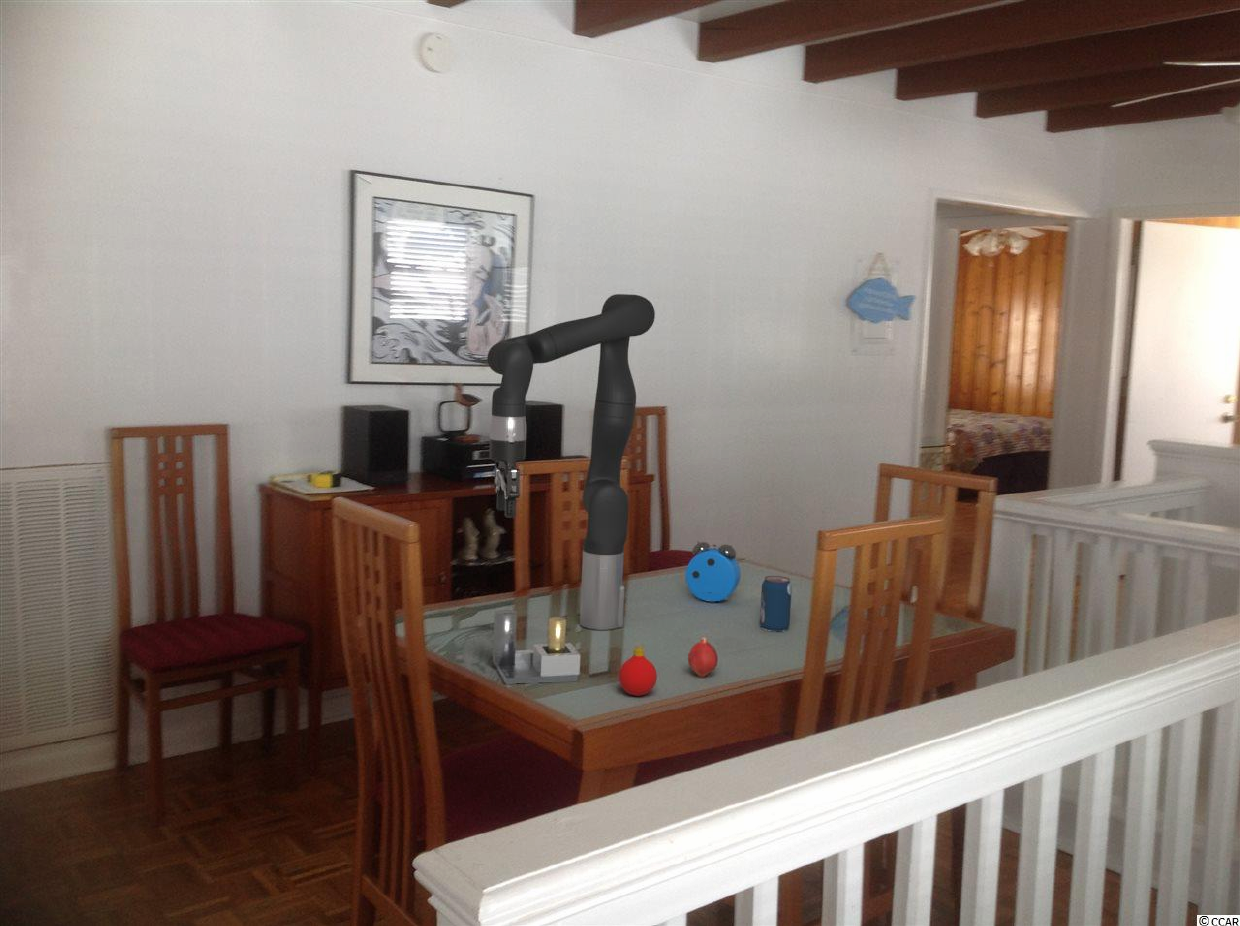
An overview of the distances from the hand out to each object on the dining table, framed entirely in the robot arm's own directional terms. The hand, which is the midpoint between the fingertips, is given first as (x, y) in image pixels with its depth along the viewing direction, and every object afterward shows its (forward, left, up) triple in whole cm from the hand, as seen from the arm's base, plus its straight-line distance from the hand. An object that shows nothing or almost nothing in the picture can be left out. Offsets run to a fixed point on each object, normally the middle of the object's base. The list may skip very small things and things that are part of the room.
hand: (505, 513), depth 228 cm
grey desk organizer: (-3, +22, -28) cm, 36 cm away
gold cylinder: (-6, +24, -26) cm, 36 cm away
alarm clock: (-60, -29, -28) cm, 72 cm away
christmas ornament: (-19, +37, -28) cm, 50 cm away
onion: (-35, +29, -28) cm, 53 cm away
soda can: (-65, -2, -28) cm, 70 cm away
